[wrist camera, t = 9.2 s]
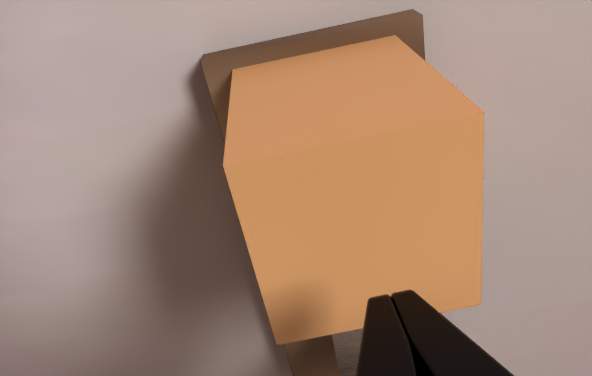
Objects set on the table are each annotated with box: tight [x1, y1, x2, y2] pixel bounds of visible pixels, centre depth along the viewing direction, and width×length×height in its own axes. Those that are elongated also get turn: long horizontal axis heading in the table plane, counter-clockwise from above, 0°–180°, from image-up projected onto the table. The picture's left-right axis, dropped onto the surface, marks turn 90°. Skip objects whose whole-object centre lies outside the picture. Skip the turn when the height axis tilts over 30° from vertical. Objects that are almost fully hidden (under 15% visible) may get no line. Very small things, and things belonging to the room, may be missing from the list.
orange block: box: [223, 35, 484, 345], centre depth 14 cm, size 5×5×7 cm
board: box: [201, 9, 425, 376], centre depth 19 cm, size 16×7×1 cm, turn 11°
